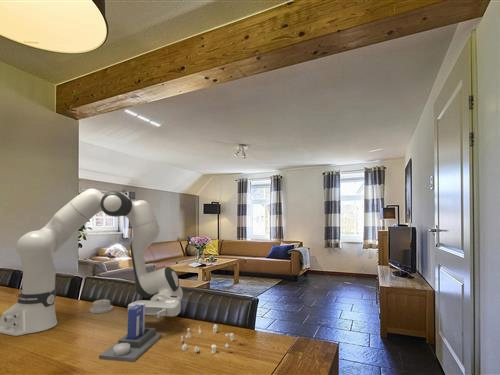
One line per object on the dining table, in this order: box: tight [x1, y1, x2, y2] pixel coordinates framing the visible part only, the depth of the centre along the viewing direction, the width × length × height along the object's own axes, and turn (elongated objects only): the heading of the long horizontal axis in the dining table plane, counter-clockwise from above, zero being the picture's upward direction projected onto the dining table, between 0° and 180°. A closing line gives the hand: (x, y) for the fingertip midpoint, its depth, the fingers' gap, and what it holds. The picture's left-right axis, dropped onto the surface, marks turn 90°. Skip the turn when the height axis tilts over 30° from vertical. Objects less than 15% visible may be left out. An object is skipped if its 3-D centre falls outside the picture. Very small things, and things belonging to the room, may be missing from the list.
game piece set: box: [180, 324, 235, 354], centre depth 110 cm, size 19×20×4 cm
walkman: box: [126, 303, 146, 340], centre depth 109 cm, size 8×3×12 cm, turn 174°
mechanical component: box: [89, 299, 114, 314], centre depth 145 cm, size 10×4×10 cm
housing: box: [98, 327, 163, 362], centre depth 105 cm, size 12×20×3 cm, turn 171°
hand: (144, 314), depth 113 cm, fingers open, 8 cm apart
